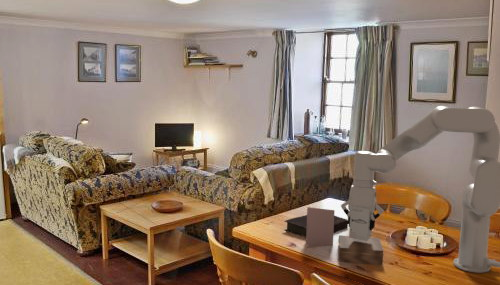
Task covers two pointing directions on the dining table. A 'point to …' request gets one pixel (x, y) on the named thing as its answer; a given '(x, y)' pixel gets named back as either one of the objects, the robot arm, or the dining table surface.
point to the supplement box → (360, 223)
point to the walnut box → (360, 250)
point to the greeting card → (319, 227)
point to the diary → (300, 225)
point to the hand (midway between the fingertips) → (360, 227)
